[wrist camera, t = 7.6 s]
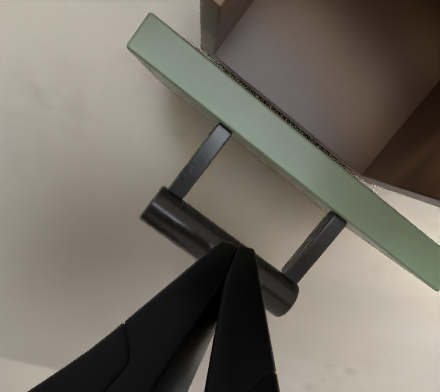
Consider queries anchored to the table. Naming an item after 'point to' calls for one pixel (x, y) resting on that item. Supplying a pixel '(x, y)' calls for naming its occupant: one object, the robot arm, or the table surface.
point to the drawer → (310, 119)
